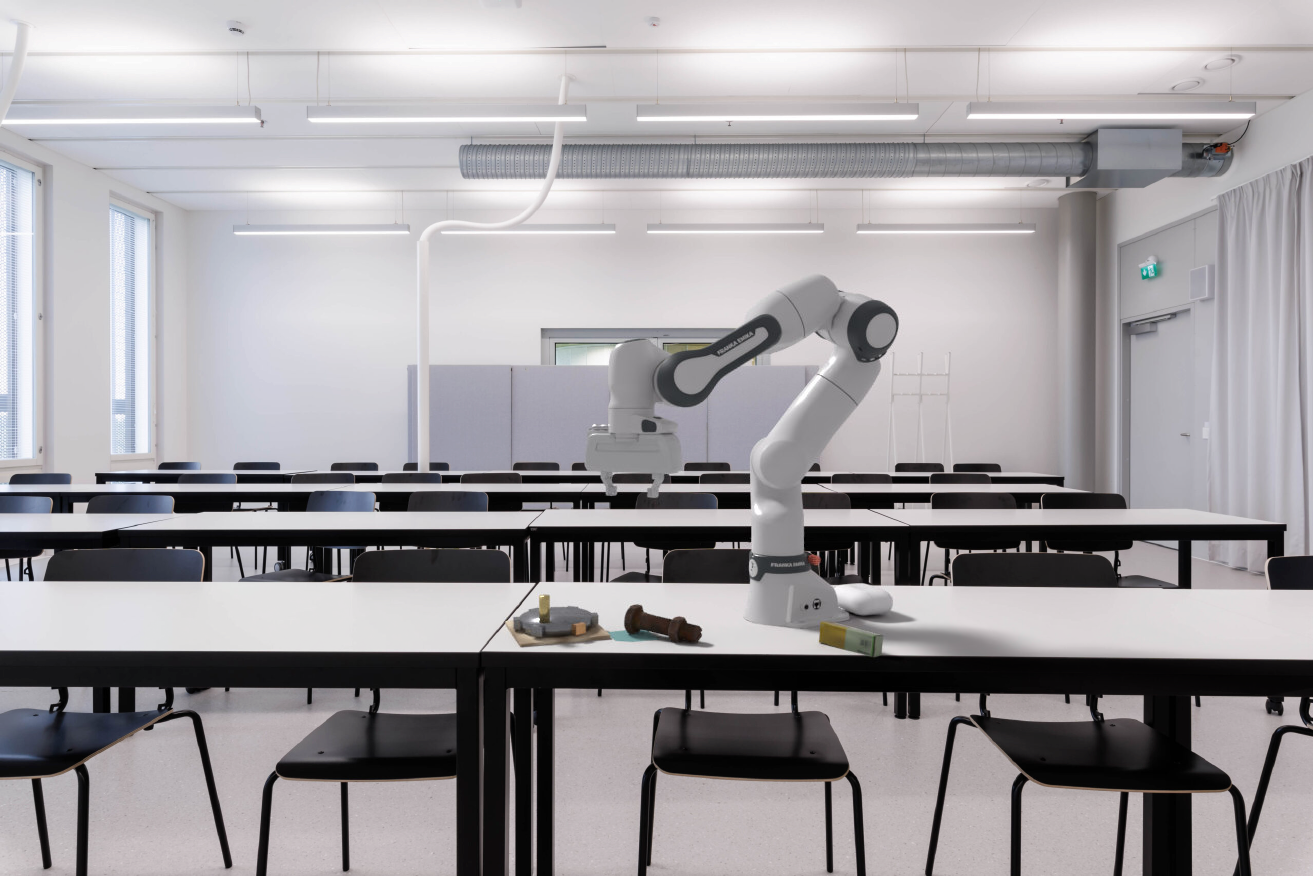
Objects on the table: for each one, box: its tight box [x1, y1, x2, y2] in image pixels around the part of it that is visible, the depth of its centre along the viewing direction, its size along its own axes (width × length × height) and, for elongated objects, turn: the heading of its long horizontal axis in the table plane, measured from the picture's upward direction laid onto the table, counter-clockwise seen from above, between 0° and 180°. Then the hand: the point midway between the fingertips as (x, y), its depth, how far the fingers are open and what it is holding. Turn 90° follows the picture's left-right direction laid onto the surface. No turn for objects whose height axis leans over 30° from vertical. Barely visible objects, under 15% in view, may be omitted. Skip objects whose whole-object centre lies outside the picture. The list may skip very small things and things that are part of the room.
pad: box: [607, 629, 659, 643], centre depth 141 cm, size 8×8×1 cm
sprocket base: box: [504, 619, 611, 648], centre depth 144 cm, size 17×17×1 cm
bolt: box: [623, 603, 703, 644], centre depth 139 cm, size 6×5×15 cm
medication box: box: [818, 621, 884, 658], centre depth 133 cm, size 12×3×4 cm, turn 41°
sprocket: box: [512, 594, 599, 637], centre depth 144 cm, size 16×15×7 cm
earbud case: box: [833, 582, 894, 616], centre depth 161 cm, size 10×13×5 cm
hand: (631, 496), depth 141 cm, fingers open, 8 cm apart
